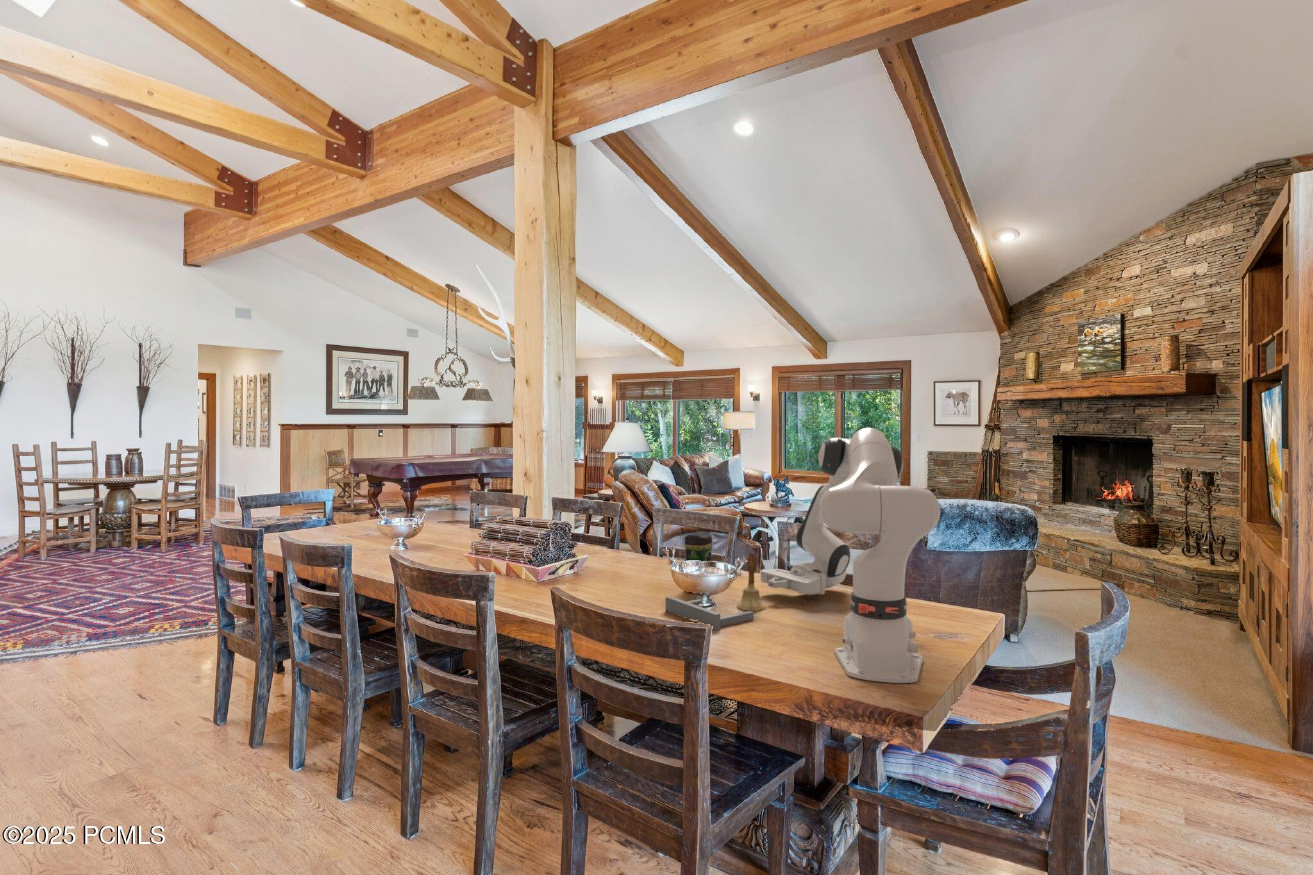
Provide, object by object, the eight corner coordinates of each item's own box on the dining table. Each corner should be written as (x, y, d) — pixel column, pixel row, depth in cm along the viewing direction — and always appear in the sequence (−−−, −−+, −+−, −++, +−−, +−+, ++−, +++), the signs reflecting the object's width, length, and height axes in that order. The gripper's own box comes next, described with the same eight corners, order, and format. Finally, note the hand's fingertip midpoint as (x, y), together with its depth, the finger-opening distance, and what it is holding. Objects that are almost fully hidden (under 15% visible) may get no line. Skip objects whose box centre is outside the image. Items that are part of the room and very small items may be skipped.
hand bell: (757, 602, 198) (757, 549, 197) (770, 609, 190) (770, 554, 189) (731, 604, 195) (731, 550, 195) (744, 612, 187) (744, 556, 187)
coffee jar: (693, 584, 220) (693, 529, 220) (715, 587, 216) (715, 530, 216) (680, 591, 211) (680, 533, 211) (703, 594, 208) (703, 535, 207)
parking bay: (705, 603, 197) (705, 589, 197) (757, 620, 179) (757, 605, 179) (665, 610, 188) (665, 596, 188) (715, 630, 170) (715, 614, 170)
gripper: (779, 562, 213) (747, 567, 206) (829, 574, 197) (796, 580, 189) (779, 581, 214) (747, 588, 206) (829, 595, 197) (796, 602, 189)
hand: (771, 584), depth 197 cm, fingers closed
